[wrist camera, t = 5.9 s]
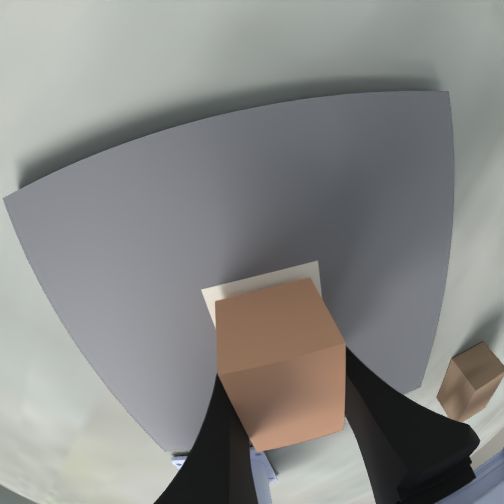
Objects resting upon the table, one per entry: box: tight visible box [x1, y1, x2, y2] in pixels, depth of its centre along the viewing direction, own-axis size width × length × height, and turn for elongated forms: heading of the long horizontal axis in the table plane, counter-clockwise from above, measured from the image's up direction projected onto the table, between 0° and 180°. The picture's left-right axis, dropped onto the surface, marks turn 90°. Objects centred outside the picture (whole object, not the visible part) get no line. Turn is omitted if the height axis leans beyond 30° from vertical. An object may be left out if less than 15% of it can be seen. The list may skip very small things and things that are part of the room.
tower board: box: [3, 91, 454, 451], centre depth 15 cm, size 20×20×1 cm
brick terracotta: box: [215, 277, 346, 452], centre depth 12 cm, size 6×4×4 cm, turn 12°
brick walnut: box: [437, 342, 504, 422], centre depth 19 cm, size 6×4×4 cm, turn 12°
